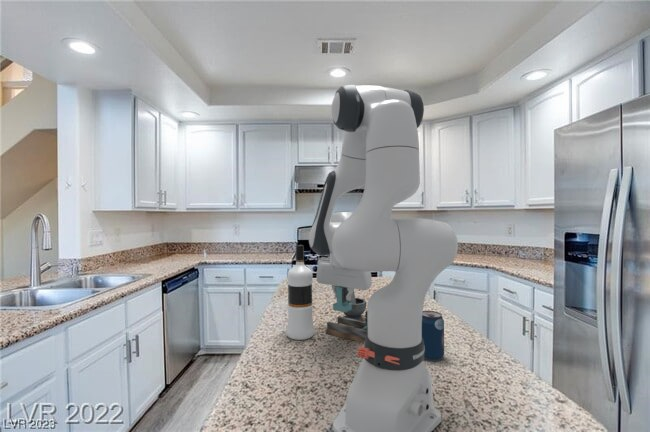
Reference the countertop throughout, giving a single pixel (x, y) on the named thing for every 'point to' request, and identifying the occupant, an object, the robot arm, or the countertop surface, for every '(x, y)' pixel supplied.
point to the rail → (349, 328)
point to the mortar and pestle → (356, 308)
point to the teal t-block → (342, 300)
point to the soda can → (433, 335)
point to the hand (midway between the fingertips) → (342, 299)
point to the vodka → (300, 299)
